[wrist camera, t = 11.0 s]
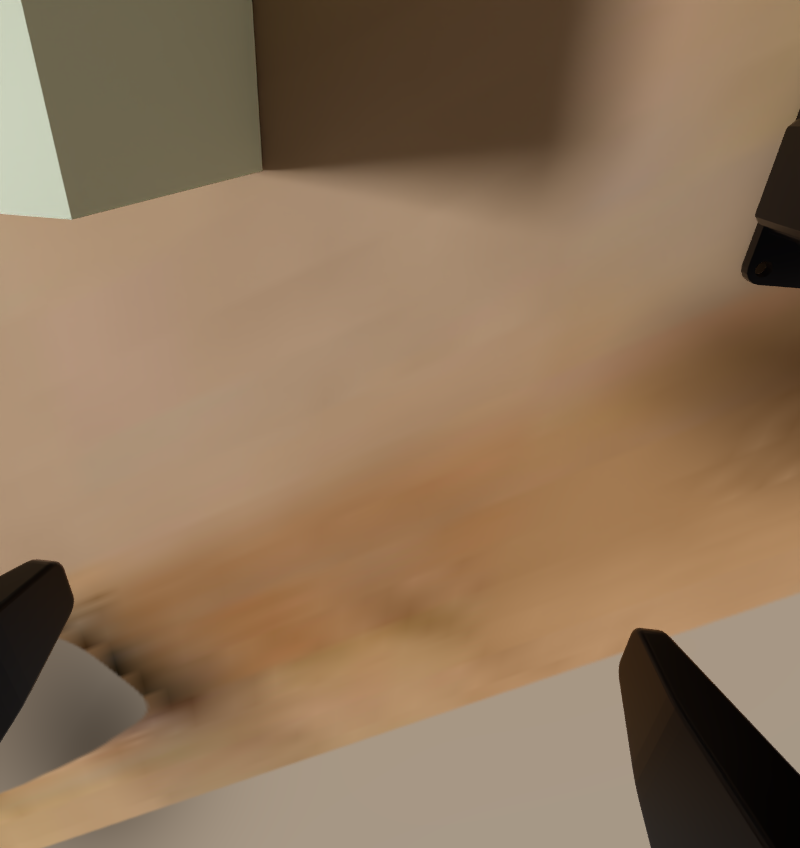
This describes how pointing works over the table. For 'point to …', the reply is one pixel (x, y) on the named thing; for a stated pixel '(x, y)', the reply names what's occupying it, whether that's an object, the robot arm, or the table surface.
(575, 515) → the table surface
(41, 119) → the board
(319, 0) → the table surface
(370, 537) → the table surface
